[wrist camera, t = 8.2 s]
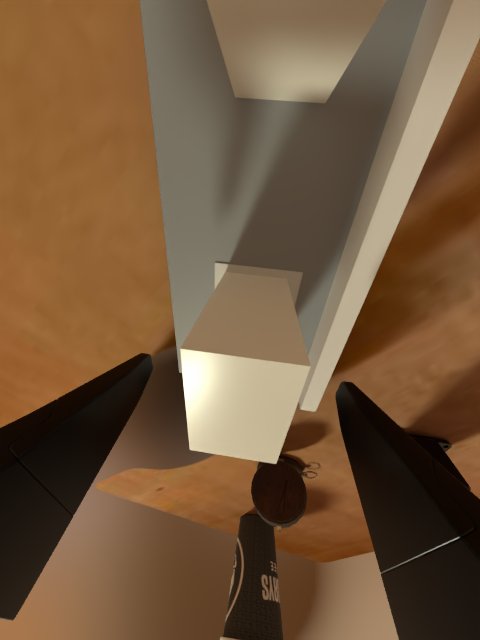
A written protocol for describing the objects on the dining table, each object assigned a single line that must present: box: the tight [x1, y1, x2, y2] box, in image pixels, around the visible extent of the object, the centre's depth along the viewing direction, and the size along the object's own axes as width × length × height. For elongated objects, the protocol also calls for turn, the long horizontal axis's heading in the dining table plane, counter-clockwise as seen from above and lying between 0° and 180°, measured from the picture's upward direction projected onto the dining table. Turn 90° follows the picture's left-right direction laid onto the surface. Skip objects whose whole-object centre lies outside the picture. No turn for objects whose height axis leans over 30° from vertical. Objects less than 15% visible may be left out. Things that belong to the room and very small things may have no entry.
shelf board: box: [140, 0, 480, 412], centre depth 11 cm, size 26×12×4 cm, turn 175°
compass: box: [251, 457, 318, 531], centre depth 25 cm, size 8×8×7 cm
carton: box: [180, 272, 311, 464], centre depth 11 cm, size 4×6×8 cm
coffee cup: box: [220, 515, 283, 640], centre depth 33 cm, size 10×10×15 cm
